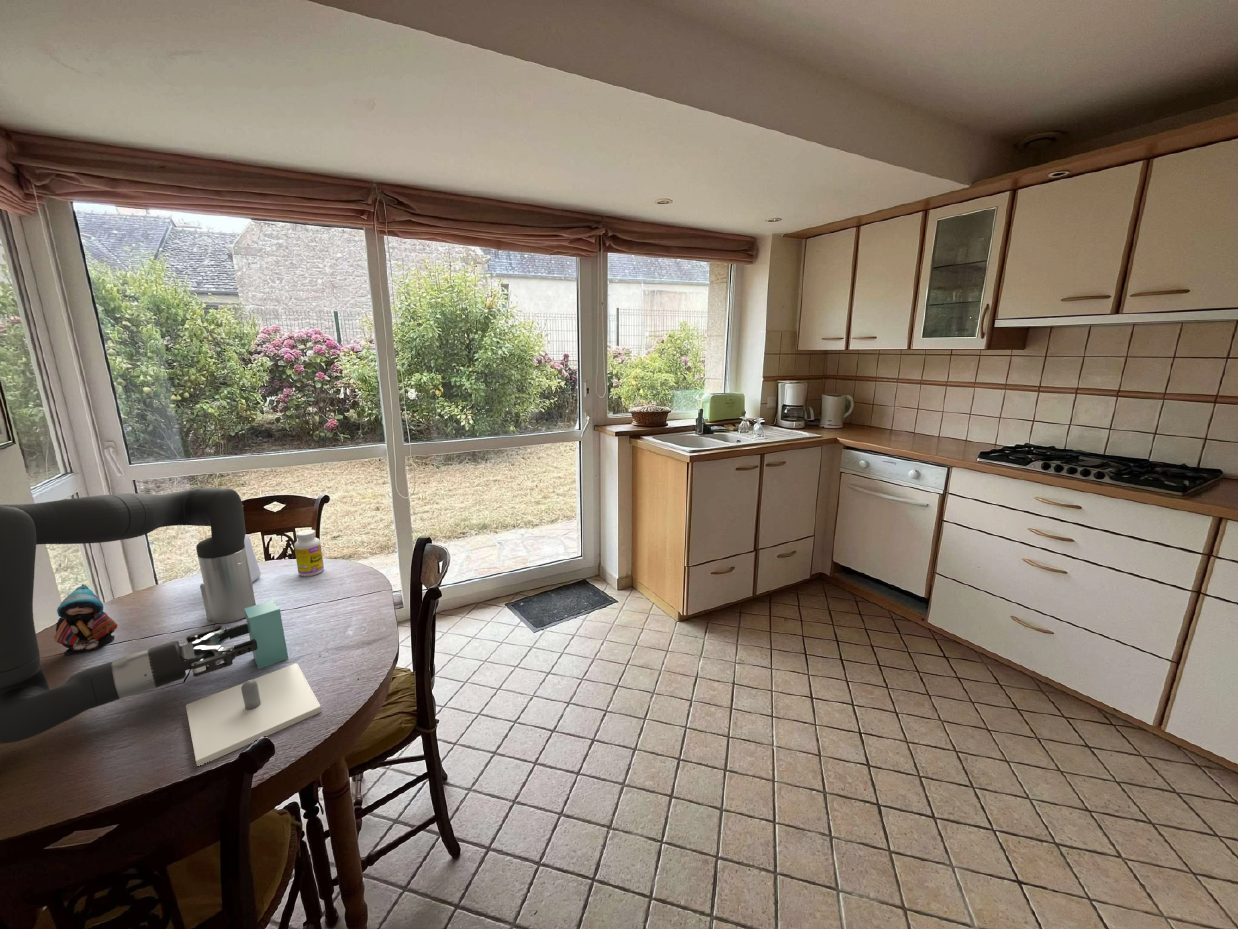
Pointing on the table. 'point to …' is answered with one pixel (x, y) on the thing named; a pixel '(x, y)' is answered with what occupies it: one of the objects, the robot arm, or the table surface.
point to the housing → (266, 633)
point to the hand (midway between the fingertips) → (253, 635)
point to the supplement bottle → (308, 553)
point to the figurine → (83, 622)
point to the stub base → (249, 712)
